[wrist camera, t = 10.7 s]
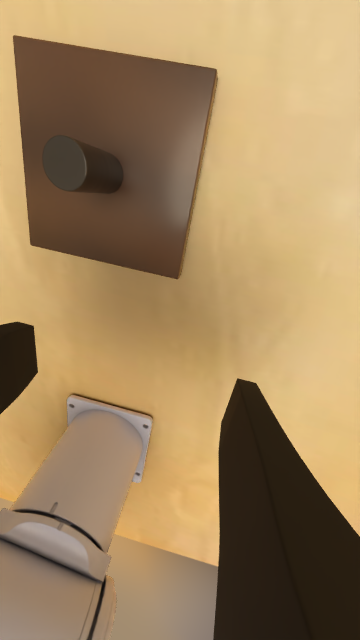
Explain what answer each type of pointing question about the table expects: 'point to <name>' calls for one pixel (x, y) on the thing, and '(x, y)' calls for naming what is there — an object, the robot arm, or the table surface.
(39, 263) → the table surface
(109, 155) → the stand
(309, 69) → the table surface
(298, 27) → the table surface
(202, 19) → the table surface
